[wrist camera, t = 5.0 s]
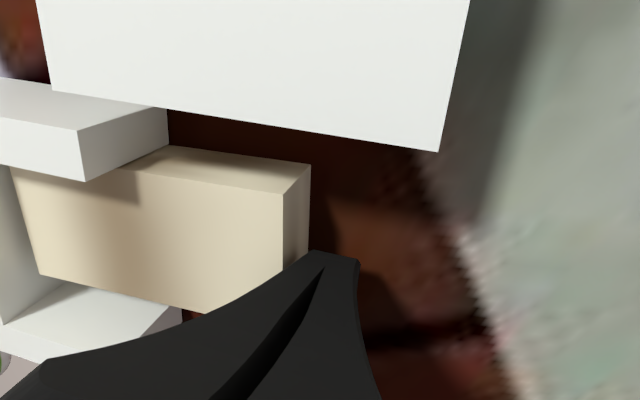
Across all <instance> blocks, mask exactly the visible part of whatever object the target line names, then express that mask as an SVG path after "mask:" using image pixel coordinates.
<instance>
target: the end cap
mask: <svg viewBox="0 0 640 400" xmlns="http://www.w3.org/2000/svg"><path fill="white" fill-rule="evenodd" d="M168 144H169V136H168V123H167V109H166V108H160V107H154V106H147V105H141V104H135V103H129V102H123V101H116V100H110V99H104V98H98V97H92V96H85V95H79V94H73V93H67V92H60V91H54V90H52V85H49V84H42V83H36V82H30V81H23V80H17V79H11V78H4V77H0V351H2V352H5V353H8V354H11V355H14V356H17V357H20V358H23V359H26V360H29V361H32V362H35V363H38V364H41V363H42V362H44V361H45V360H46V359H48V358H54V357H59V356H64V355H69V354H74V353H78V352H83V351H88V350H93V349H98V348H102V347H106V346H110V345H114V344H118V343H122V342H125V341H129V340H133V339H136V338H140V337H143V336H146V335H150V334H153V333H156V332H159V331H162V330H165V329H167V328H170V327H173V326H175V325H178V324H181V323H182V310H181V308H178V307H174V306H170V305H166V304H162V303H157V302H153V301H149V300H145V299H141V298H137V297H132V296H128V295H124V294H120V293H116V292H112V291H107V290H103V289H99V288H95V287H91V286H87V285H82V284H78V283H74V282H70V281H66V280H62V279H57V278H53V277H49V276H45V275H41V274H39V271H38V267H37V264H36V260H35V257H34V253H33V249H32V246H31V242H30V239H29V235H28V232H27V228H26V225H25V221H24V218H23V214H22V211H21V207H20V203H19V200H18V196H17V193H16V189H15V186H14V182H13V179H12V175H11V172H10V168H9V166H12V167H17V168H22V169H26V170H31V171H36V172H40V173H45V174H50V175H54V176H59V177H63V178H68V179H73V180H77V181H82V182H87V181H89V180H91V179H94V178H96V177H98V176H100V175H102V174H104V173H107V172H109V171H111V170H113V169H115V168H117V167H120V166H122V165H124V164H126V163H128V162H131V161H133V160H135V159H137V158H139V157H141V156H144V155H146V154H148V153H150V152H152V151H155V150H157V149H159V148H161V147H163V146H165V145H168Z"/></svg>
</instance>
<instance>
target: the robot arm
mask: <svg viewBox="0 0 640 400" xmlns="http://www.w3.org/2000/svg"><path fill="white" fill-rule="evenodd" d="M360 266H361V264H360V262H359V261H358V259H354V258H350V257H345V256H341V255H337V254H332V253H328V252H323V251H319V250H314V249H313V250H311V251H310V252H308V253H307V254H305V255H304V256H302V257H301V258H299V259H298V260H297V261H295V262H294V263H292V264H291V265H290V266H288V267H287V268H285V269H284V270H282V271H281V272H279V273H278V274H276V275H275V276H273V277H272V278H270V279H269V280H267V281H266V282H264V283H263V284H261V285H259V286H258V287H256V288H254V289H253V290H251V291H249V292H248V293H246V294H244V295H242V296H241V297H239V298H237V299H235V300H233V301H232V302H230V303H228V304H226V305H224V306H222V307H219V308H217V309H215V310H213V311H211V312H208V313H206V314H204V315H202V316H199V317H197V318H194V319H192V320H189V321H186V322H184V323H181V324H178V325H175V326H173V327H170V328H167V329H165V330H162V331H159V332H156V333H153V334H150V335H146V336H143V337H140V338H136V339H133V340H129V341H125V342H122V343H118V344H114V345H110V346H106V347H102V348H98V349H93V350H88V351H83V352H78V353H74V354H69V355H64V356H59V357H54V358H48V359H46V360H45V361H44V362H42V363H41V364H40V365H39V366H38V367H36V368H35V369H34V370H33V371H32V372H30V373H29V374H28V375H27V376H26V377H25V378H23V379H22V380H21V381H20V382H19V383H17V384H16V385H15V386H14V387H13V388H12V389H10V390H9V391H8V392H7V393H6V394H5V395H3V396H2V397H1V398H0V400H382V398H381V396H380V393H379V391H378V388H377V385H376V383H375V380H374V377H373V373H372V370H371V367H370V364H369V360H368V357H367V353H366V349H365V345H364V341H363V336H362V331H361V326H360V320H359V313H358V303H357V286H358V279H359V272H360Z"/></svg>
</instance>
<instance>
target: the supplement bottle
mask: <svg viewBox="0 0 640 400" xmlns="http://www.w3.org/2000/svg"><path fill="white" fill-rule="evenodd" d="M10 359H11V354H8V353H5V352H2V351H0V375H1V374H2V373H3V372H4V371H5V370H6V369H7V367H8V366H9V363H10Z"/></svg>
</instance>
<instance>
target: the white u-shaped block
mask: <svg viewBox="0 0 640 400" xmlns="http://www.w3.org/2000/svg"><path fill="white" fill-rule="evenodd" d="M469 3H470V0H36V5H37V10H38V16H39V21H40V26H41V32H42V37H43V43H44V48H45V53H46V59H47V64H48V69H49V75H50V80H51V85H52V90H54V91H60V92H67V93H73V94H79V95H85V96H92V97H98V98H104V99H110V100H116V101H123V102H129V103H135V104H141V105H147V106H154V107H160V108H166V109H172V110H179V111H185V112H191V113H197V114H203V115H210V116H216V117H222V118H228V119H235V120H241V121H247V122H253V123H259V124H266V125H272V126H278V127H284V128H290V129H297V130H303V131H309V132H315V133H322V134H328V135H334V136H340V137H346V138H353V139H359V140H365V141H371V142H378V143H384V144H390V145H396V146H402V147H409V148H415V149H421V150H427V151H433V152H438V150H439V145H440V141H441V136H442V131H443V126H444V122H445V117H446V112H447V107H448V103H449V98H450V93H451V89H452V84H453V79H454V74H455V70H456V65H457V60H458V55H459V51H460V46H461V41H462V36H463V32H464V27H465V22H466V17H467V13H468V8H469Z"/></svg>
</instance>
